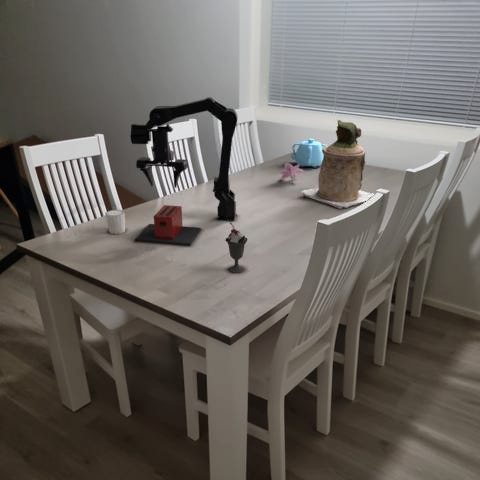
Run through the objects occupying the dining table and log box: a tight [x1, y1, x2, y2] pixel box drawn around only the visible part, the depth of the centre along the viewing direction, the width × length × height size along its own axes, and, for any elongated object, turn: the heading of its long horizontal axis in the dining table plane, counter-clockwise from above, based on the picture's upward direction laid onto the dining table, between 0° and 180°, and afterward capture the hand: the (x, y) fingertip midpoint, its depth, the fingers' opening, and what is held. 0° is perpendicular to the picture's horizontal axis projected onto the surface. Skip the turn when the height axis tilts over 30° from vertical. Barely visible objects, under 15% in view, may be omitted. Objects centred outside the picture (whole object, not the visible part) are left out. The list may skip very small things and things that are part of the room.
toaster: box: [153, 204, 184, 239], centre depth 170 cm, size 13×6×8 cm, turn 170°
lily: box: [277, 162, 305, 185], centre depth 229 cm, size 12×12×10 cm
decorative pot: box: [290, 138, 328, 168], centre depth 255 cm, size 16×16×14 cm
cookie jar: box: [300, 119, 375, 210], centre depth 203 cm, size 25×25×32 cm
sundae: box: [225, 222, 248, 274], centre depth 145 cm, size 7×7×15 cm
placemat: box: [134, 223, 202, 247], centre depth 172 cm, size 20×15×1 cm
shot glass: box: [105, 209, 126, 235], centre depth 174 cm, size 7×7×7 cm
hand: (163, 186), depth 183 cm, fingers open, 9 cm apart
